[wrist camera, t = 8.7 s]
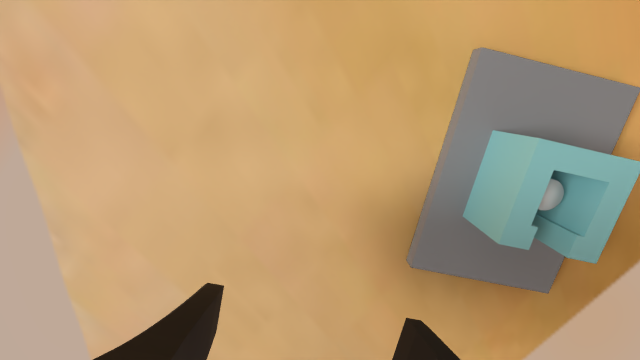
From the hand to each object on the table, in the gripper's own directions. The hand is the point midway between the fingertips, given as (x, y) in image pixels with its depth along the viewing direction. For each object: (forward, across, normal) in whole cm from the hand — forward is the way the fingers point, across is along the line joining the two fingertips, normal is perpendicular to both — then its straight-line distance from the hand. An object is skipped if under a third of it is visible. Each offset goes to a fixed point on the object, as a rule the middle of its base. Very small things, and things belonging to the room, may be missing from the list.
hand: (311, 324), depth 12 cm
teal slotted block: (+8, -12, -6) cm, 16 cm away
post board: (+9, -12, -6) cm, 16 cm away
